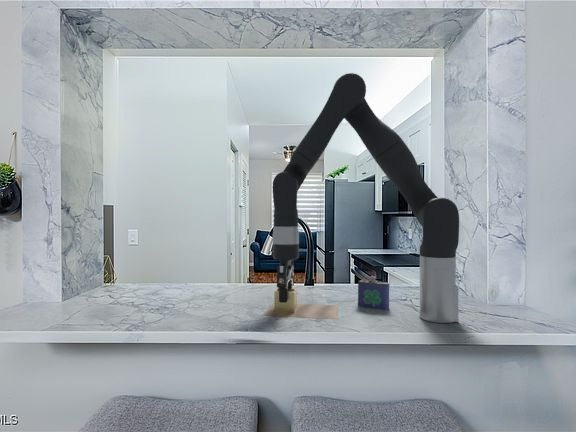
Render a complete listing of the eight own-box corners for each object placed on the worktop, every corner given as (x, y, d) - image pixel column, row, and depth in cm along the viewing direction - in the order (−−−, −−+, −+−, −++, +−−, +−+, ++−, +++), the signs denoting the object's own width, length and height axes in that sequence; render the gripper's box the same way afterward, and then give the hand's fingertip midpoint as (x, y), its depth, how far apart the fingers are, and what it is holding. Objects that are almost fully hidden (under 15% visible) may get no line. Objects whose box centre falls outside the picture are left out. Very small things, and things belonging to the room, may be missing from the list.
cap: (296, 307, 102) (296, 287, 102) (294, 312, 97) (294, 291, 97) (278, 306, 103) (278, 286, 103) (274, 311, 98) (274, 290, 98)
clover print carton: (390, 313, 102) (389, 276, 102) (388, 315, 100) (387, 278, 100) (359, 309, 106) (359, 274, 106) (356, 311, 104) (356, 275, 104)
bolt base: (338, 310, 105) (338, 292, 105) (338, 324, 91) (338, 303, 91) (273, 307, 108) (273, 290, 108) (263, 321, 94) (263, 300, 94)
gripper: (295, 244, 93) (295, 305, 92) (301, 240, 107) (301, 294, 107) (267, 243, 94) (267, 304, 94) (277, 240, 108) (277, 293, 108)
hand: (285, 298), depth 100 cm, fingers open, 8 cm apart
